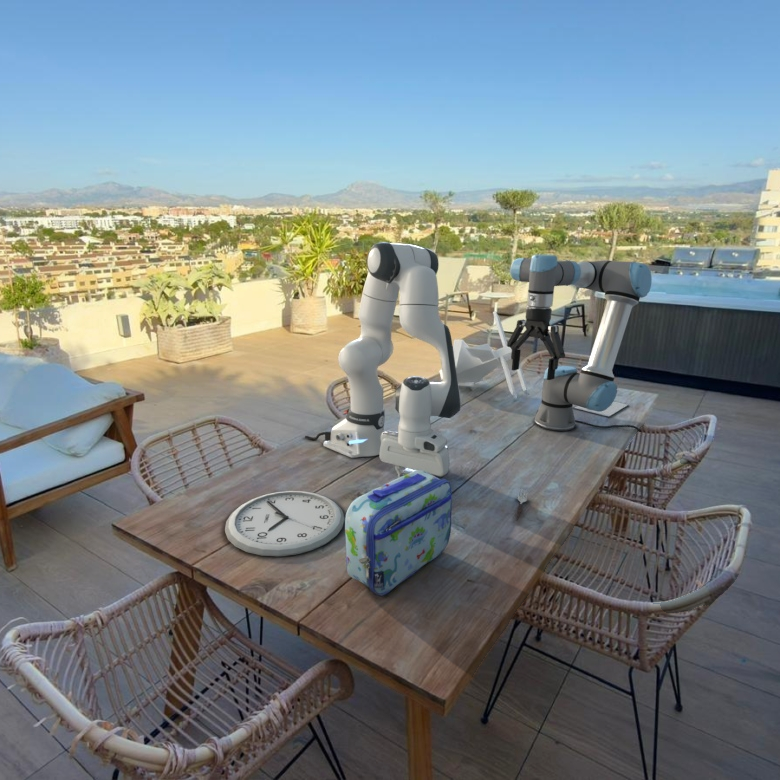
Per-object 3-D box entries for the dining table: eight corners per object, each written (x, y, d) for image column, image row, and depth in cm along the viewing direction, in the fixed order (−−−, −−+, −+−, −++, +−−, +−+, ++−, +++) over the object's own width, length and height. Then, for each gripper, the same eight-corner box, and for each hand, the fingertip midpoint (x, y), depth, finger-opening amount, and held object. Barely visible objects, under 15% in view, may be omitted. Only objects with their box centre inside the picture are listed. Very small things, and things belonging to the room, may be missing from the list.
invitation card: (608, 416, 214) (573, 407, 224) (608, 416, 214) (573, 408, 224) (628, 404, 229) (594, 396, 238) (628, 405, 229) (594, 397, 238)
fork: (511, 521, 136) (512, 514, 136) (519, 493, 150) (519, 487, 150) (521, 523, 135) (522, 516, 135) (528, 495, 150) (528, 489, 149)
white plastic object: (461, 429, 252) (437, 405, 227) (444, 352, 274) (420, 323, 250) (535, 404, 240) (518, 377, 215) (510, 326, 262) (492, 293, 237)
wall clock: (344, 547, 121) (211, 552, 118) (344, 554, 121) (212, 558, 119) (344, 486, 149) (237, 489, 147) (344, 491, 150) (237, 494, 147)
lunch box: (373, 608, 104) (374, 515, 98) (339, 582, 112) (337, 495, 105) (455, 554, 122) (460, 473, 116) (421, 535, 129) (424, 458, 123)
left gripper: (375, 432, 145) (375, 478, 149) (443, 448, 135) (441, 495, 140) (386, 425, 150) (385, 469, 154) (453, 439, 141) (450, 486, 145)
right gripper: (499, 303, 166) (494, 367, 172) (567, 313, 148) (559, 385, 154) (514, 301, 171) (509, 364, 177) (582, 311, 152) (573, 381, 158)
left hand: (412, 482), depth 147 cm, fingers open, 5 cm apart
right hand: (532, 374), depth 165 cm, fingers open, 13 cm apart
